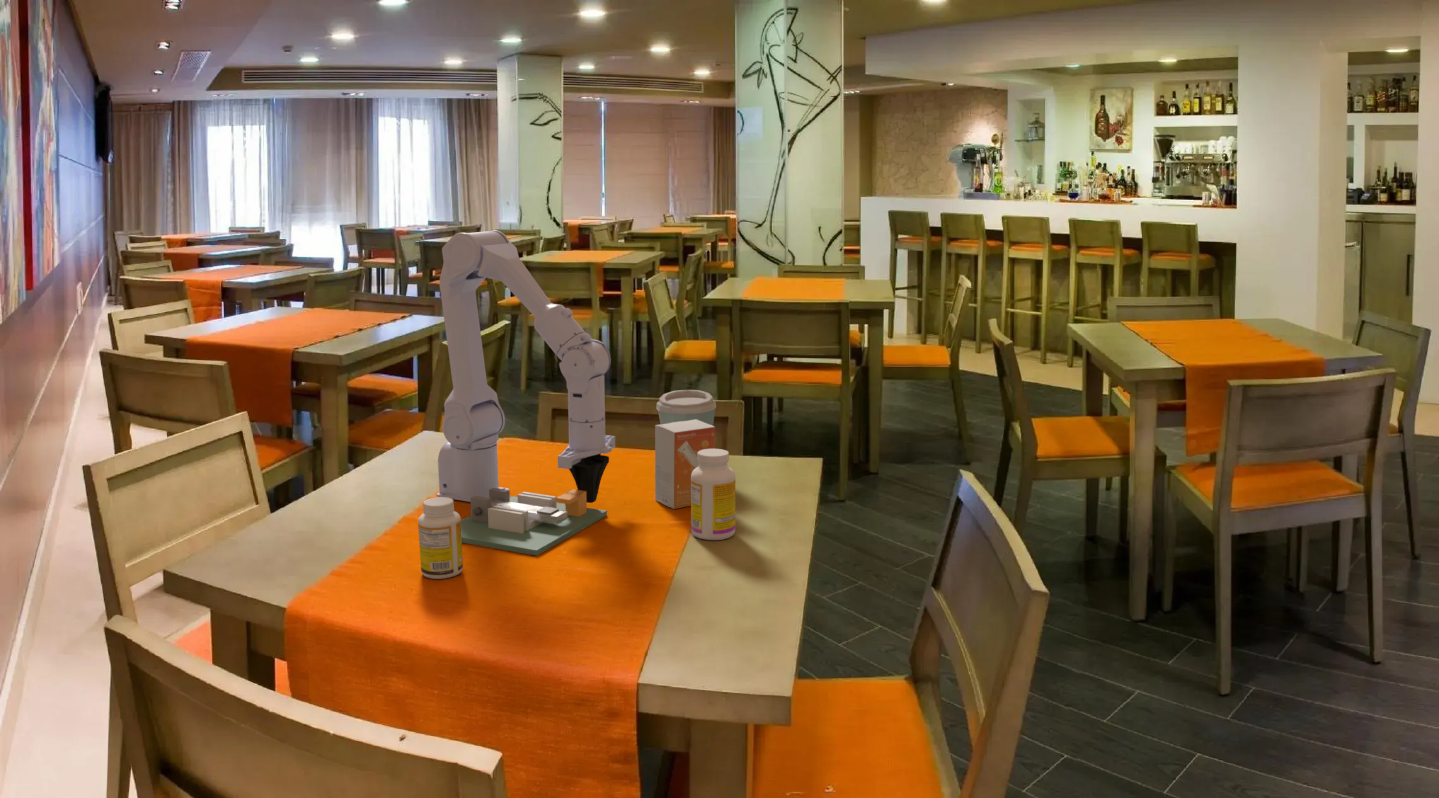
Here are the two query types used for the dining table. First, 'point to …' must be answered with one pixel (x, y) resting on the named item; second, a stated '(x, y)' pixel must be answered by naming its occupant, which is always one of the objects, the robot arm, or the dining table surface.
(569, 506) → the lug slider
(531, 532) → the socket base
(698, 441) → the small box
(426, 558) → the supplement bottle
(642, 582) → the dining table surface
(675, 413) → the disposable coffee cup
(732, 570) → the dining table surface
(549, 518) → the white stepped bar
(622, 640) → the dining table surface
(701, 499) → the supplement bottle
